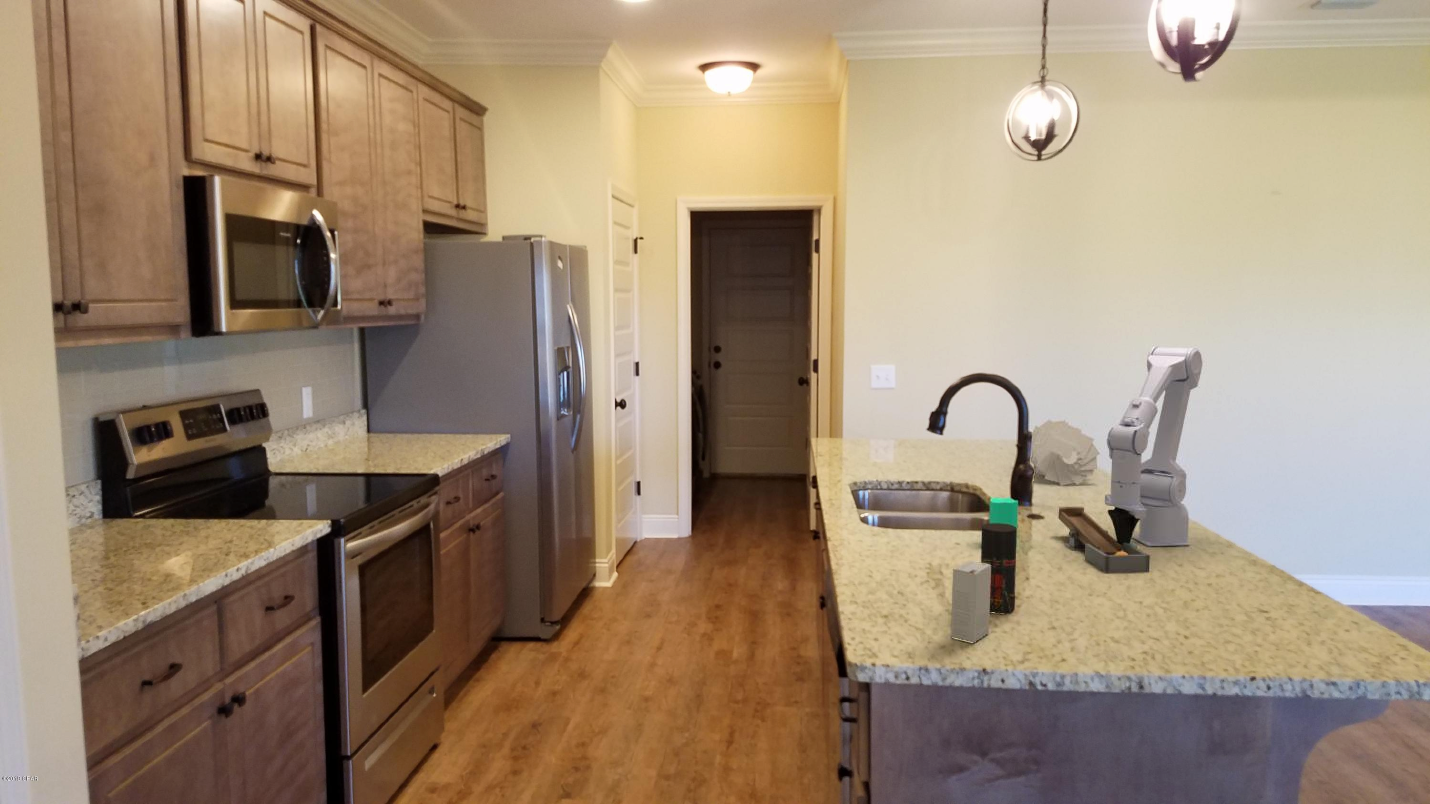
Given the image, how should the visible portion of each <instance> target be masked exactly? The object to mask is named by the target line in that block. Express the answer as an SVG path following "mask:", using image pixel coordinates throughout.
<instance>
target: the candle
mask: <svg viewBox="0 0 1430 804" xmlns="http://www.w3.org/2000/svg"><path fill="white" fill-rule="evenodd" d="M1018 507H1019V501H1018V500H1014V499H1013V498H1011V497H1003V498H1002V497H991V498H990V500H989V523H1002V524H1009V525H1013V526H1015V527H1016V528H1017V529H1018V511H1019V508H1018ZM1017 547H1018V536H1017V537H1016V548H1017Z"/></svg>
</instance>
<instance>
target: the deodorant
mask: <svg viewBox="0 0 1430 804" xmlns="http://www.w3.org/2000/svg"><path fill="white" fill-rule="evenodd" d="M1016 537H1017V538H1018V527H1017V528H1016V527H1015V526H1013V525H1009V524H1002V523H990V522H988V523H985V524H982V525H981V545H980V547H981V549H980V550H981V553H980V555H981V556H980V557H981V558H980V563H985V564H990V565H991V583H990V612H995V613H1010V614H1012V613H1011V612H1013V611H1014V610H1016V580H1017V579H1016V578H1017V577H1016V576H1017V574H1016V572H1017V571H1016V570H1017V547H1016ZM1014 612H1015V611H1014ZM1014 612H1013V613H1014Z"/></svg>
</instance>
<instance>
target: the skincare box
mask: <svg viewBox="0 0 1430 804" xmlns="http://www.w3.org/2000/svg"><path fill="white" fill-rule="evenodd" d="M990 583H991V565H990V564H985V563H981V562H978V561H973V560H967V561H965V562H964V563H961V564H959V565H958V566H957V567H955V568H953V569H952V587H951V592H952V593H951V619H950V620H951V621H950V638H951V637H954V638H958V639H961V640H966V641H970V642H973V643H974V642H975V643H977V642H978V641H980V640H981V639H983V638H984V637H985V636H987V635H988V634H990V633H989V632H990V614H991V613H990ZM986 634H987V635H986ZM983 636H984V637H983ZM980 638H981V639H980ZM979 639H980V640H979ZM977 640H978V641H977ZM976 641H977V642H976ZM975 643H974V644H975Z"/></svg>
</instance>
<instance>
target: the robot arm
mask: <svg viewBox="0 0 1430 804" xmlns="http://www.w3.org/2000/svg"><path fill="white" fill-rule="evenodd" d="M1146 367H1147V376H1146V379H1145V381H1144V384H1143V386H1142V389H1141V391H1140V394H1139V396H1138V397H1136V398H1133V399H1132V400H1131V401H1130V403H1129V404H1128V406H1127V408H1126V409H1125V411H1124V414H1123V416H1122V418H1121V419H1120V421H1119V423H1118V424H1116V425H1115V426H1113V427H1111V428H1110V429H1109V431H1108V434H1107V438H1106V445H1107V448H1108V452H1109V453H1108V454H1109V455H1108V458H1109V459H1110V460H1111V471H1110V472H1111V473H1110V474H1111V475H1110V477H1111V478H1110V493H1109V494H1108V493H1107V494H1104V504H1105V506H1108V507H1113V509H1107V514H1108V516H1109V518H1110V520H1111V522H1112V525H1113V529H1114V533H1115V538H1116V541H1117V542H1118V543H1119V544H1123V543H1128V544H1130V541H1132V539H1134V540H1136V541H1137V542H1140V543H1142V544H1143V545H1145V546H1147V547H1166V546H1167V547H1168V546H1170V547H1171V546H1173V547H1174V546H1177V547H1178V546H1189V545H1190V542H1189V541H1188V540H1189V520H1190V519H1189V511H1188V508H1187V506H1186V505H1185V504H1183V503H1182V502H1183V500H1184V499H1185V497H1186V493H1187V473H1186V471H1185V470H1184V469H1183V467H1181V466H1180V465H1179V464H1178V463H1177V462H1176V460H1177V457H1178V451H1179V447H1180V444H1181V443H1180V442H1181V437H1182V432H1183V429H1184V424H1185V418H1186V414H1187V410H1188V405H1189V399H1190V395H1191V390H1194V389H1195V388H1198V385H1199V382H1200V378H1201V373H1202V369H1203V358H1202V354H1201V351H1199V349H1198V348H1197V347H1189V348H1188V347H1160V346H1153V347H1152V348H1151V349H1150V350H1149V352H1148V354H1147V357H1146ZM1162 394H1164V397H1163V401H1162V406H1161V411H1160V413H1159V412H1158V411H1159V410H1158V407H1157V405H1156V404H1157V402H1158V401H1159V400H1160V398H1161V396H1162ZM1158 413H1159V414H1160V415H1159V421H1158V423H1157V428H1156V434H1155V440H1154V443H1153V449H1152V454H1151V457H1149V458H1148V459H1146V460H1144V461H1143V462H1142V454H1143V453H1145V451H1146V449H1147V447H1148V443H1149V436H1150V433H1151V432H1150V428H1151V426H1152V424H1153V422H1154V420H1155V419H1156V418H1155V417H1157V414H1158ZM1138 524H1139V526H1138V527H1139V528H1138V529H1139V530H1138V532H1139V533H1138V534H1133V533H1134V531H1135V529H1136V526H1137V525H1138Z"/></svg>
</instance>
